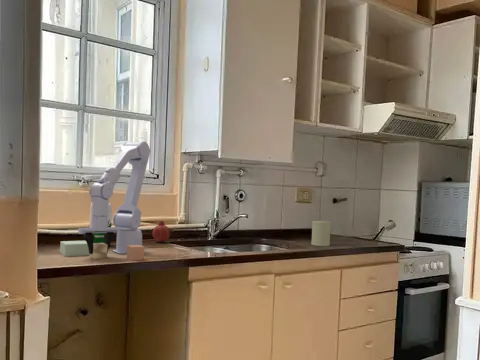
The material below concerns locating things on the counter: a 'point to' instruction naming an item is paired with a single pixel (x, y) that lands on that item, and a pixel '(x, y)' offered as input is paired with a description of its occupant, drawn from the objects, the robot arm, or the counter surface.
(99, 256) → the maple cube
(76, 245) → the sage block
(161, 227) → the fruit
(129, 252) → the terracotta cube
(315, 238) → the can
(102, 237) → the milk carton
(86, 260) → the counter surface
